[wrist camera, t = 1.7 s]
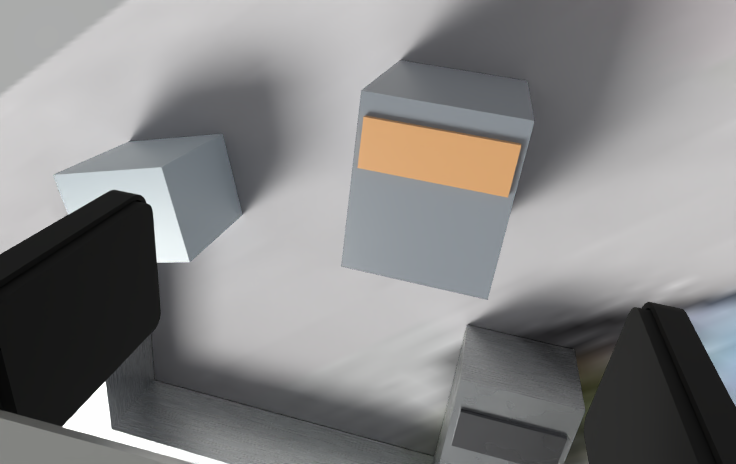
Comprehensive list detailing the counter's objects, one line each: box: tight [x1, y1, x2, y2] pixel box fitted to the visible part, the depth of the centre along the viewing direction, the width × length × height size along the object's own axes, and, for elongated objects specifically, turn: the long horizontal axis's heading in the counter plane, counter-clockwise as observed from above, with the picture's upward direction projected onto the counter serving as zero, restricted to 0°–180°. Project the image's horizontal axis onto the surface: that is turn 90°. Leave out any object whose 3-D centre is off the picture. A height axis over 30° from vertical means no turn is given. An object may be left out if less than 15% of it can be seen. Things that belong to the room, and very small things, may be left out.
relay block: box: [53, 134, 243, 263], centre depth 24 cm, size 5×4×5 cm
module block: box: [341, 60, 535, 300], centre depth 20 cm, size 5×6×7 cm
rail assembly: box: [63, 325, 585, 464], centre depth 28 cm, size 28×11×4 cm, turn 83°
